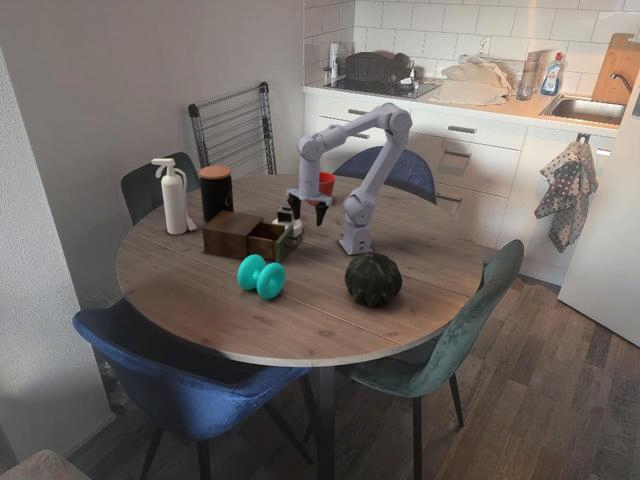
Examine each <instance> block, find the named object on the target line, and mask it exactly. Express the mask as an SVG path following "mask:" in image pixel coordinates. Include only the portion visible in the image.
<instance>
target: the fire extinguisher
mask: <svg viewBox="0 0 640 480" xmlns="http://www.w3.org/2000/svg"><path fill="white" fill-rule="evenodd" d="M150 163H151V165H157V166H159V167H158V168H157V170H156V171H155V177H156V178H157V179H159V178H161V176H162V172H163V171H164V168H166V174H165V175H163V176H162V178H161V181H160V183H161V184H160V185H161V191H162V198H163V204H164V214H165V221H166V230H167V232H168V233H169V234H170V235H175V236H176V235H182V234H184V233H186V232H187V230H189V231H194V230H196V229H197V226H196V224H195V223H194V220H192V218H191V217H189V214H188V213H189V212H188V208H187V207H188V206H187V205H188V203H187V185H188V179H187V175H186V173H185V172H184V171H183V170H181V169H180V168H176V167H174V166H176V161H175V159H174V158H153V159H152V160H151V161H150ZM176 172H178V173H180V174H181V175H182V177H183V179H182V177H181V176H180V175H179V174H176Z"/></svg>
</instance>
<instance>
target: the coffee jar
mask: <svg viewBox="0 0 640 480" xmlns="http://www.w3.org/2000/svg"><path fill="white" fill-rule="evenodd" d="M231 174H232V169H231V168H230V167H229V166H226V165H209V166H206V167H202V168H201V169H200V170H199V171H198V175H199V185H200V186H199V187H200V196H201V206H202V212H203V213H202V214H203V216H202V217H203V220H204V222H206V224H207V223H209V222H210V221H211V220H212V219H213V218H214V217H215V216H216V215H218V214H219V213H220V212H221V211H222V210H224V211H230V212H235V211H234V210H235V209H234V193H233V178H232V175H231Z"/></svg>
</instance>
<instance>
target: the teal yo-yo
mask: <svg viewBox="0 0 640 480" xmlns="http://www.w3.org/2000/svg"><path fill="white" fill-rule="evenodd" d="M236 277H237V282H238V285H239V286H240V288H241V289H243V290H246V291H251V290H254V289H256V291H257V294H258V295H259V297H261V298H262V299H265V300H270V299H273V298H275V297H277V296H278V294H280V292H281V290H282V289H283V287H284V285H285V283H286V271H285V268H284V267H283V265H282V264H281V263H276V262H272V263H268V264H266V261H265V258H262V257H261V256H259V255H250V256H248V257H247V258H246V259H245V260H242V262H241V264H240V265H239V268H238V270H237V276H236Z"/></svg>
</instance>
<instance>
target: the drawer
mask: <svg viewBox="0 0 640 480" xmlns="http://www.w3.org/2000/svg"><path fill="white" fill-rule="evenodd" d="M247 241H248V255H259V256H261V257H262V258H263V259H267V260H272V261H273V260H274V258H275V263H278V264H281V262H282V261H283V260H284V258H285V257H286V255H287V254H288V253H289V251H290V250H291V249H292V250H293V251H296V250H297V249H298V247H299V246H300V244H302V241H303V237H302V236H298V237H294V225H289V227H288V228H287V229H286V230H285V225H279V224H273V223H272V222H266V221H264V222H261V223H260V224H259V225H258V226H257V227H256V228H255V229H254V230H253V231H252V232H251V233H250V235H249V236H248V237H247Z"/></svg>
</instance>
